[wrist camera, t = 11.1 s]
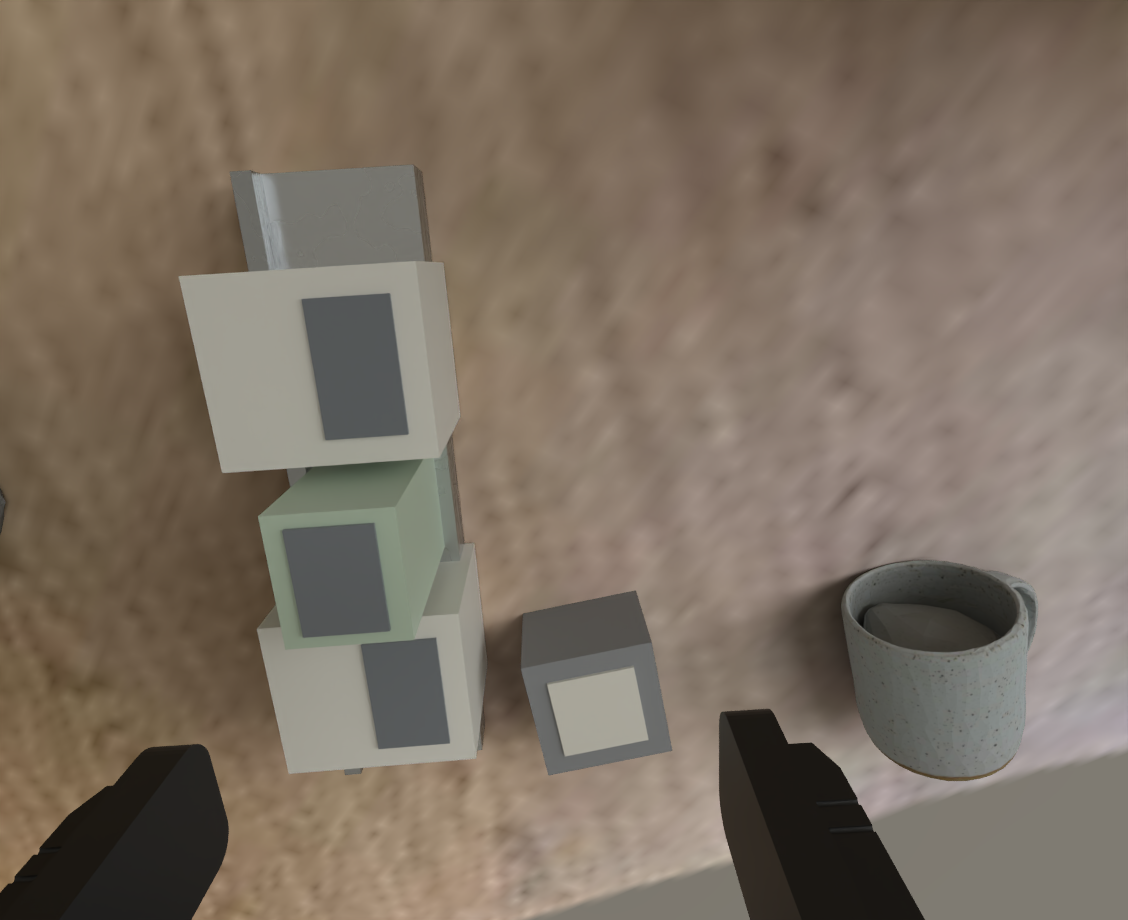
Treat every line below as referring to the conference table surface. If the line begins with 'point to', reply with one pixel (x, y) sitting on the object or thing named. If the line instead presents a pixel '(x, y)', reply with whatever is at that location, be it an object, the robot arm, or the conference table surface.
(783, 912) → the robot arm
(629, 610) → the block
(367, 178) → the rail
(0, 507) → the coffeepot
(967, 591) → the ceramic mug
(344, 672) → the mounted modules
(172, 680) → the conference table surface
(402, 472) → the module
